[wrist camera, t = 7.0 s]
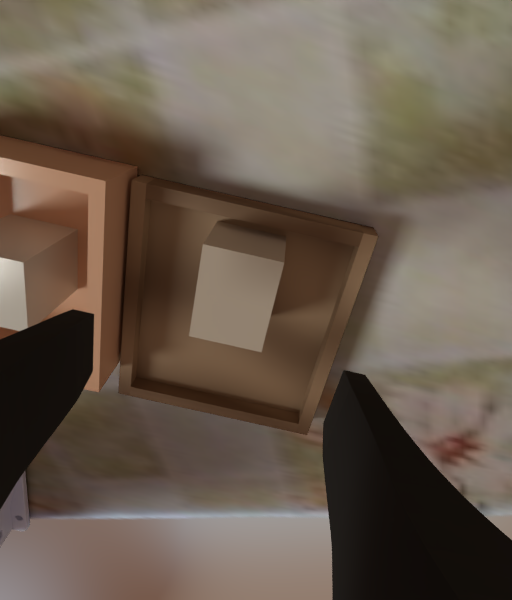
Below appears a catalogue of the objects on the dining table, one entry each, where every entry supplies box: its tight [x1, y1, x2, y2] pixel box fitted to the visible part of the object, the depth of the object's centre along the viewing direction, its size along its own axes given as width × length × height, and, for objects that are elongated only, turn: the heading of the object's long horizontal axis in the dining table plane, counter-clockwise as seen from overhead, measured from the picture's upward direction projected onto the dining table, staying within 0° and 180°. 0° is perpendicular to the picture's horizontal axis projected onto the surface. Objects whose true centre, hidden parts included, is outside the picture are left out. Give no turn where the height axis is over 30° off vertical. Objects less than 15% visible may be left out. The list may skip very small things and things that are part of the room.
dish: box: [0, 135, 138, 392], centre depth 18 cm, size 10×8×3 cm
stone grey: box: [0, 214, 78, 331], centre depth 17 cm, size 4×3×3 cm
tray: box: [119, 175, 378, 435], centre depth 19 cm, size 11×10×1 cm
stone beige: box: [189, 221, 286, 352], centre depth 17 cm, size 4×3×3 cm
